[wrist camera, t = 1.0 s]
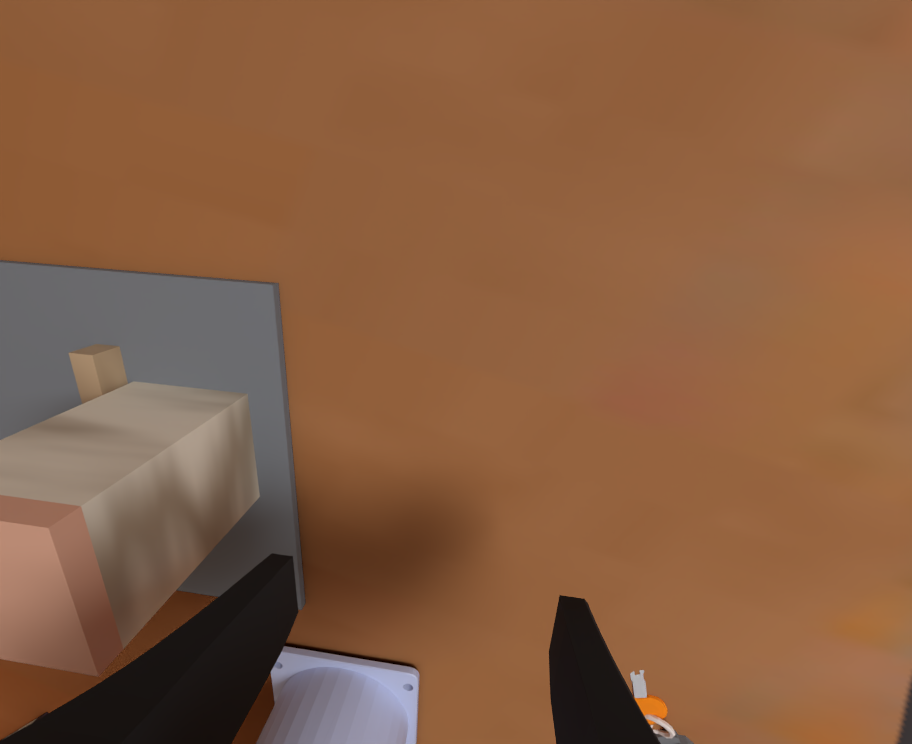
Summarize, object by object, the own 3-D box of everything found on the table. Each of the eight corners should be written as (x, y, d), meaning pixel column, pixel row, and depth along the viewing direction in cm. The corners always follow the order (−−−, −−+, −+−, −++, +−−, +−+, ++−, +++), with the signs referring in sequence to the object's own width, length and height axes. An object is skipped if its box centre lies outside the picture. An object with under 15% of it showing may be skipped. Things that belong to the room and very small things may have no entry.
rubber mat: (305, 603, 22) (301, 609, 21) (21, 558, 23) (12, 564, 23) (278, 283, 16) (272, 284, 16) (-95, 252, 18) (-108, 253, 17)
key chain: (735, 787, 23) (749, 824, 22) (667, 800, 24) (677, 835, 23) (632, 621, 20) (641, 651, 19) (560, 644, 21) (564, 674, 20)
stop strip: (156, 509, 20) (135, 526, 19) (136, 506, 20) (114, 523, 19) (119, 346, 17) (92, 355, 16) (96, 343, 17) (68, 352, 16)
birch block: (259, 496, 19) (98, 676, 12) (156, 483, 20) (-63, 647, 12) (247, 393, 17) (48, 527, 10) (133, 381, 18) (-138, 500, 10)
